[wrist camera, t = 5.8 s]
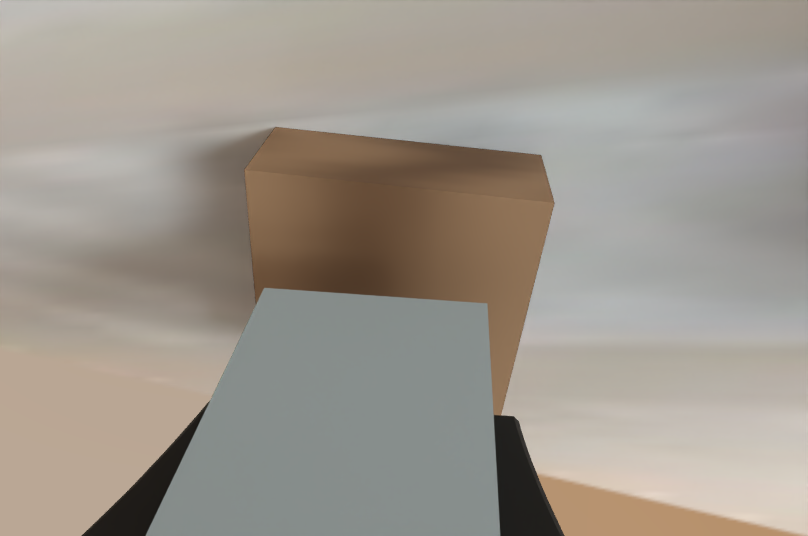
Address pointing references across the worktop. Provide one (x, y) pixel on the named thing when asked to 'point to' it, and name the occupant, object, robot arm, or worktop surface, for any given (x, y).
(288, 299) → the slate block
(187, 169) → the worktop surface
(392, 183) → the walnut plinth
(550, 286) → the worktop surface
